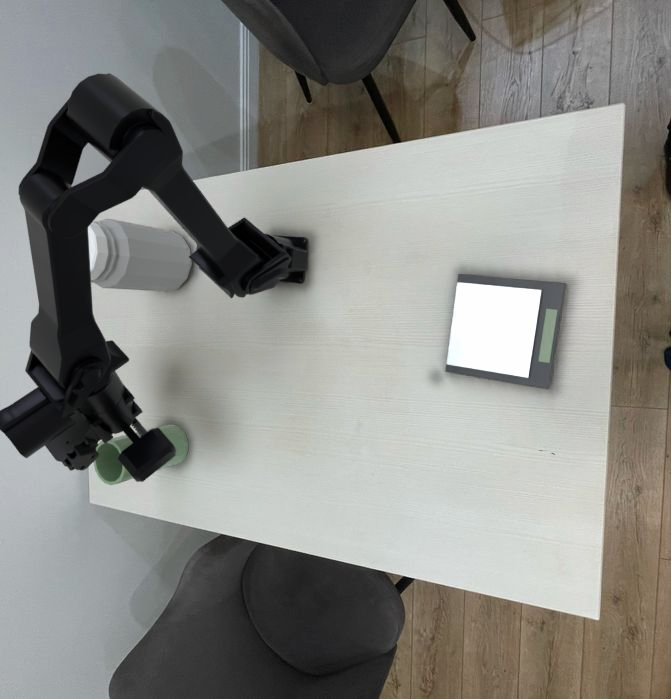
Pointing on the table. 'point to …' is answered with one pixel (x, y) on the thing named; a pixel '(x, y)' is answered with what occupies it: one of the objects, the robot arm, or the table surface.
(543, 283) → the scale
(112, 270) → the jar
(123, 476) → the tumbler
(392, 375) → the table surface
